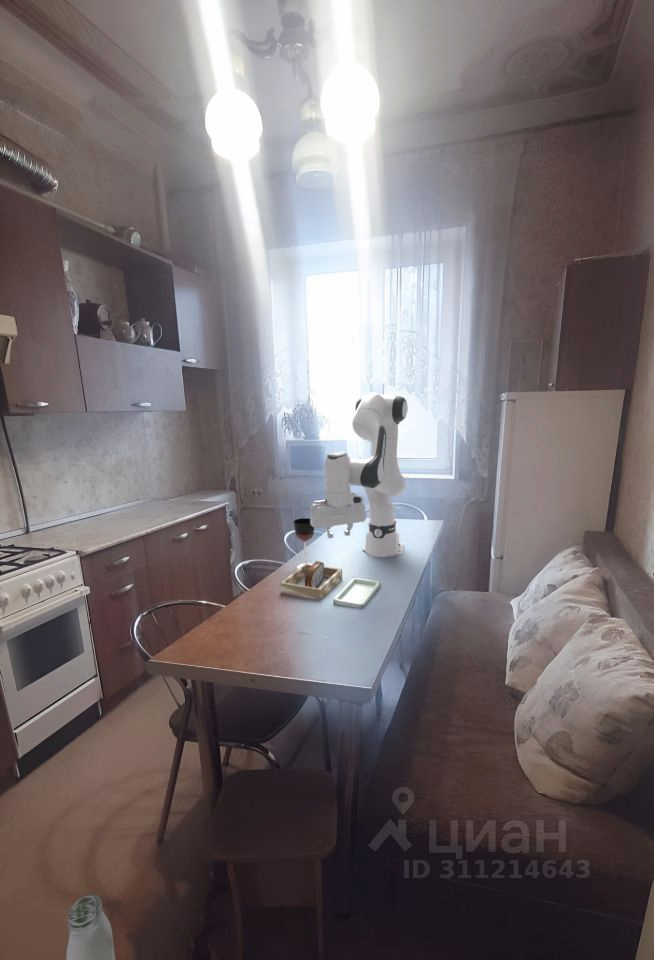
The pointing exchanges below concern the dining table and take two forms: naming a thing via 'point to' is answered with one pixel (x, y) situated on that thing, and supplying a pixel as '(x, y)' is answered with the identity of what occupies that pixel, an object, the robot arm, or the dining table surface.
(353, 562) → the dining table surface
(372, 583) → the sage tray
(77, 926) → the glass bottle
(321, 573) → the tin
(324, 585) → the birch crate
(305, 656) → the dining table surface
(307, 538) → the wineglass
